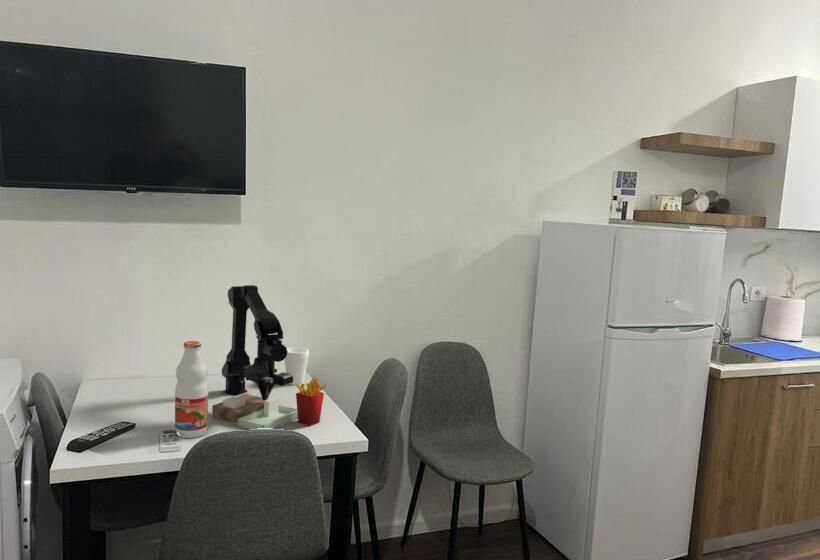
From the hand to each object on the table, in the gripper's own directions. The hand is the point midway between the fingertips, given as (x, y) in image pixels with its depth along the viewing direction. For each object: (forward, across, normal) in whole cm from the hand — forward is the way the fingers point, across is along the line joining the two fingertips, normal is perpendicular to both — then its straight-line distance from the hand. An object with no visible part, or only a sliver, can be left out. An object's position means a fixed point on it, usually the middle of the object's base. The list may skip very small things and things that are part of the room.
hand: (264, 400), depth 220 cm
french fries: (+5, +18, +3) cm, 19 cm away
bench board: (+5, -5, -4) cm, 8 cm away
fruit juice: (+5, -6, -26) cm, 27 cm away
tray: (+5, +6, -4) cm, 9 cm away
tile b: (+1, -6, -8) cm, 10 cm away
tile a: (+2, +2, 0) cm, 2 cm away
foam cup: (+5, -14, +36) cm, 39 cm away
